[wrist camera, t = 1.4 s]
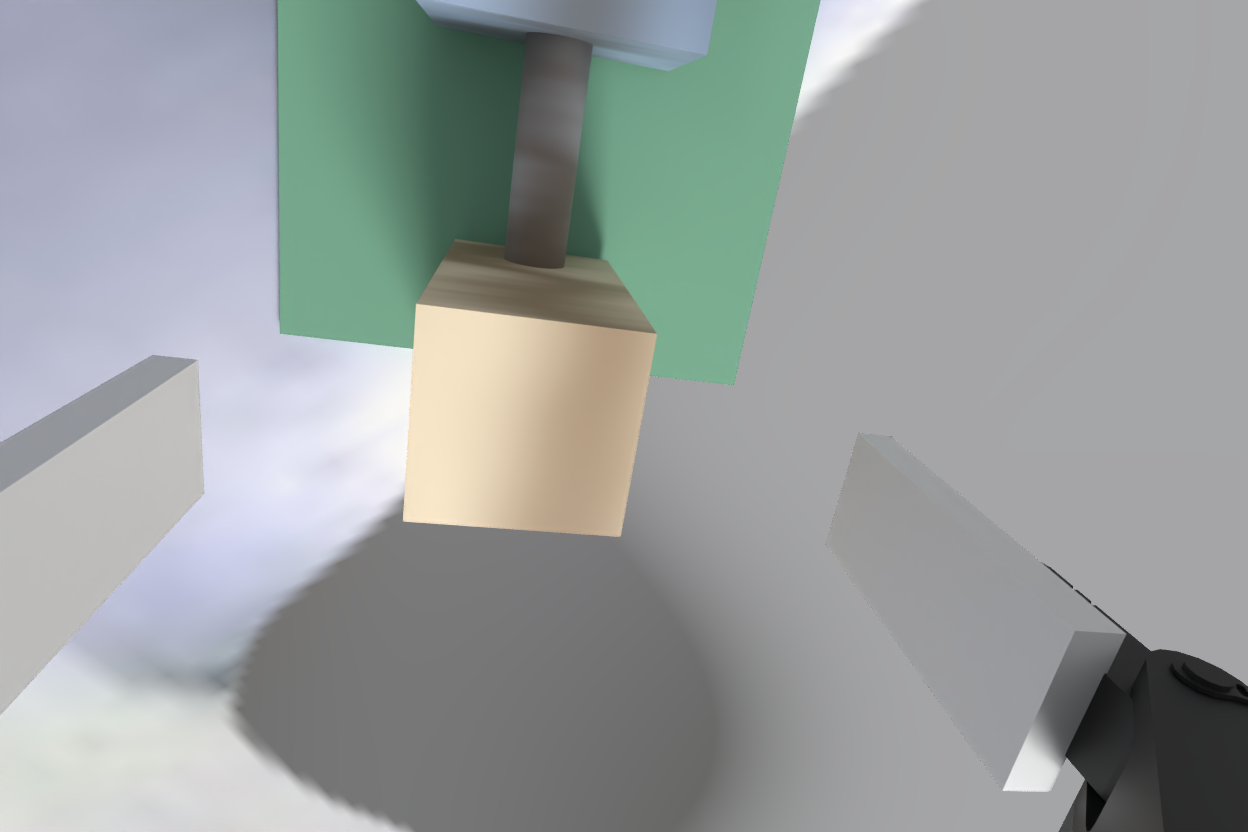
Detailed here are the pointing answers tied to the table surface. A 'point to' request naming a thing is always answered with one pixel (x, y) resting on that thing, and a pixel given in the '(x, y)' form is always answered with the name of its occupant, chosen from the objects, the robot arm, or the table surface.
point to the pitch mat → (483, 164)
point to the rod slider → (538, 298)
